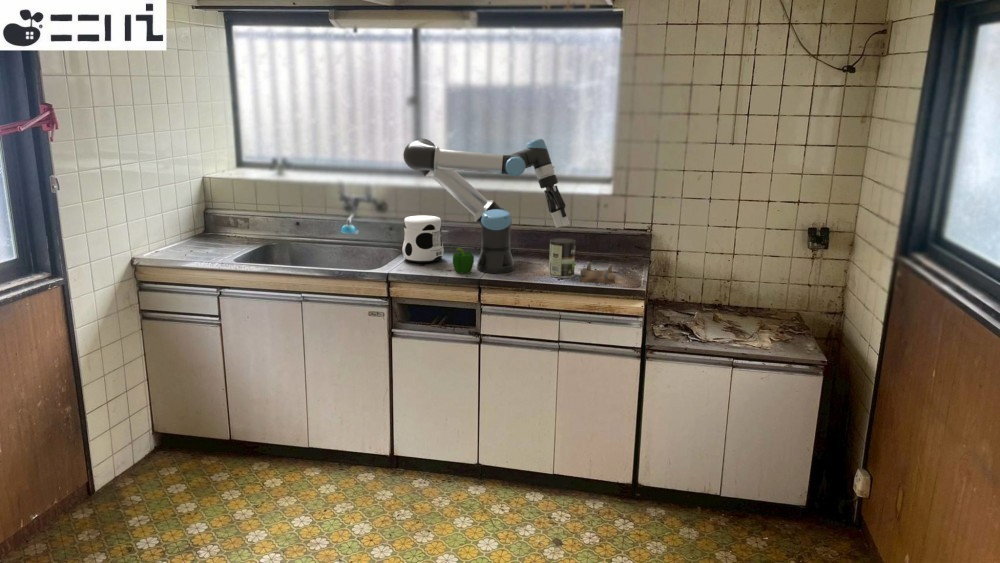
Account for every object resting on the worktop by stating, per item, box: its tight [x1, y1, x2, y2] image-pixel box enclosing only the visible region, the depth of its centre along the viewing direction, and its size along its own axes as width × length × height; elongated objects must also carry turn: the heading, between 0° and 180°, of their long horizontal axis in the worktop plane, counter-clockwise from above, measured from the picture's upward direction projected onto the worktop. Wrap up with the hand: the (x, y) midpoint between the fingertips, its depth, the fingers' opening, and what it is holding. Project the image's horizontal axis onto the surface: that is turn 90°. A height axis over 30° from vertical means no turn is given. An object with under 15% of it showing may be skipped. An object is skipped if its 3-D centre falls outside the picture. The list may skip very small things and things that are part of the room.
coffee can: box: [548, 237, 577, 279], centre depth 281 cm, size 10×10×14 cm
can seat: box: [579, 261, 616, 284], centre depth 278 cm, size 13×13×5 cm
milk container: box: [401, 215, 445, 264], centre depth 300 cm, size 17×17×18 cm
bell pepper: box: [452, 247, 475, 275], centre depth 282 cm, size 8×8×10 cm
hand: (562, 226), depth 292 cm, fingers open, 13 cm apart
